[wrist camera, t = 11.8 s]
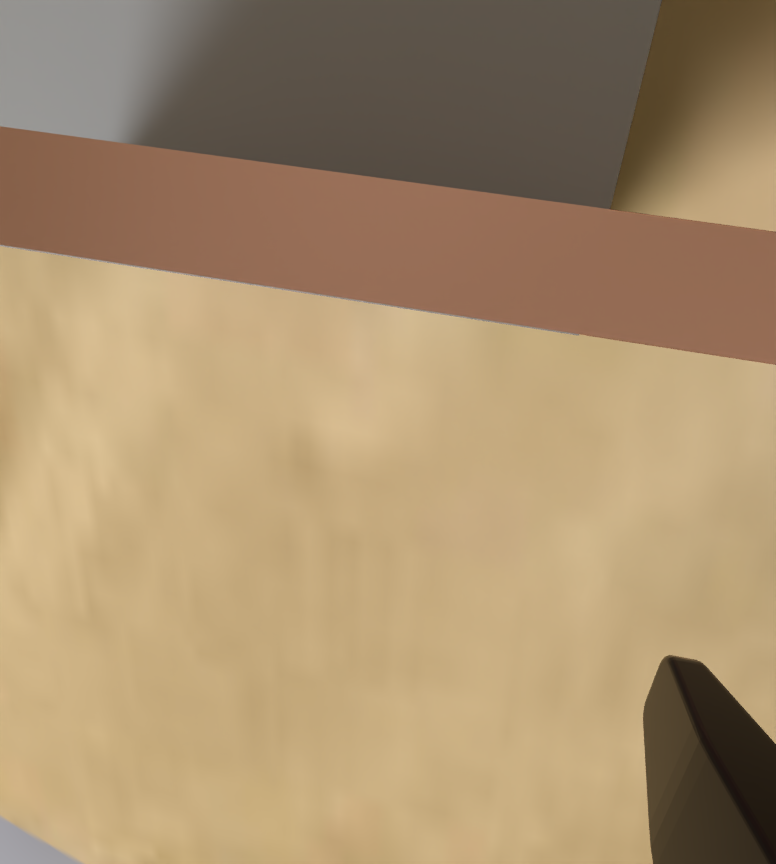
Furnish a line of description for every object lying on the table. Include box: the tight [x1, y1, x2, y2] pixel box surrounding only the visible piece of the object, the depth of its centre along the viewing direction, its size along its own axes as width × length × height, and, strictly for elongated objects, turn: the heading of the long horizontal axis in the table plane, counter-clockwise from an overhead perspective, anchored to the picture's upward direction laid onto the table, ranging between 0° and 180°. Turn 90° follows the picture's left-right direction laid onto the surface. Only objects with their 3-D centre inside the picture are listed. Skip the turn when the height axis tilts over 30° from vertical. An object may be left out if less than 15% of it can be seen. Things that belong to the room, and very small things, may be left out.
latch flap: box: [0, 126, 776, 365], centre depth 9 cm, size 12×1×9 cm, turn 84°
